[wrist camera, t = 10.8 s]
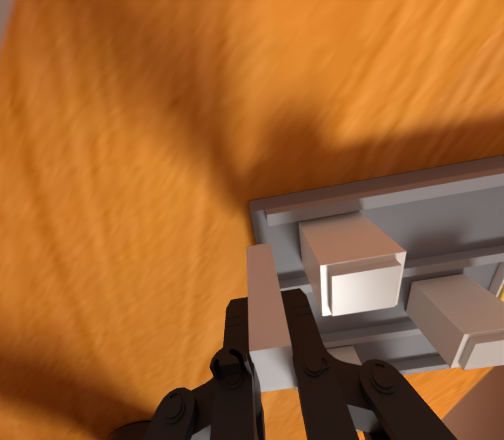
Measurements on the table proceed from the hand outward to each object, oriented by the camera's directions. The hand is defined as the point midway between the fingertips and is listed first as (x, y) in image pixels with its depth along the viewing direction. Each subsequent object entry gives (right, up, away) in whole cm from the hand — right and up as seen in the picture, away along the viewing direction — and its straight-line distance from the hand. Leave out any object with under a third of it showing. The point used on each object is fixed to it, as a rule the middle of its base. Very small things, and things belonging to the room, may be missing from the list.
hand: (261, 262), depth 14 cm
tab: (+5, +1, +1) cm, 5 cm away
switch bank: (+11, -3, +6) cm, 13 cm away
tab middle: (+14, -3, +4) cm, 15 cm away
